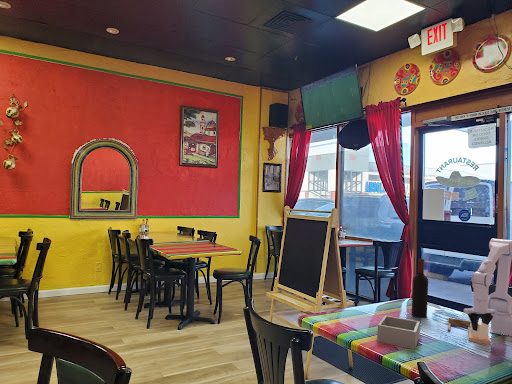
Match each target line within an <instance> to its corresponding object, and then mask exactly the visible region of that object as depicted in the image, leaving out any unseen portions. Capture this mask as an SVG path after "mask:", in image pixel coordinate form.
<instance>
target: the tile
mask: <svg viewBox="0 0 512 384" xmlns="http://www.w3.org/2000/svg"><path fill="white" fill-rule="evenodd" d="M468 341H469V342H473V343H477V344H478V343H479V344H485V345H491V338H490V335H488V339H479V338H477V337H475V336H473V335H471V333H470V332H469V335H468Z"/></svg>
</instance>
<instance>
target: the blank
mask: <svg viewBox="0 0 512 384" xmlns="http://www.w3.org/2000/svg"><path fill="white" fill-rule="evenodd" d="M470 327H471V335H473V336H475V337H477V338H479V339H488V336H489V332H490V329H489V327H490V324H489V325H487V324H485V323H483V322H482V321H481V320H479V321H478V328H477V331H475V330H473V329H472V324H471V323H470Z"/></svg>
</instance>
